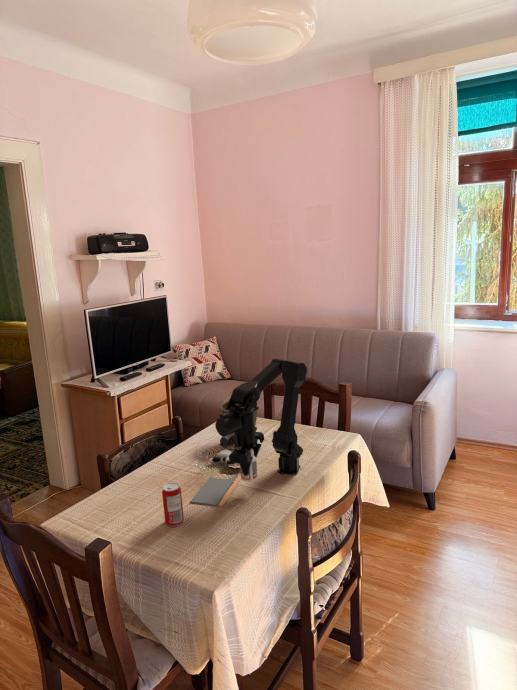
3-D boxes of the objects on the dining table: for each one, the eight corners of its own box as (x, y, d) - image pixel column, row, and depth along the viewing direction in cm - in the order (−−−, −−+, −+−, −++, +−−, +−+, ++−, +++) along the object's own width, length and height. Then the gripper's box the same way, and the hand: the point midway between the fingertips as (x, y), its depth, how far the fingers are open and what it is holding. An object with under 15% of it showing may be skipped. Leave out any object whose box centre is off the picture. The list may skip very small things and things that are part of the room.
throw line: (243, 476, 172) (243, 475, 172) (222, 506, 153) (222, 505, 153) (239, 476, 172) (239, 474, 172) (219, 506, 154) (218, 504, 154)
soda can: (173, 515, 150) (169, 479, 148) (187, 519, 147) (184, 483, 145) (161, 524, 146) (157, 487, 143) (175, 529, 143) (172, 491, 140)
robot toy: (207, 467, 182) (238, 475, 173) (205, 456, 182) (236, 463, 172) (228, 455, 192) (259, 461, 183) (227, 444, 191) (257, 450, 182)
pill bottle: (253, 473, 163) (251, 445, 161) (260, 479, 159) (258, 451, 156) (238, 477, 161) (236, 449, 159) (245, 484, 156) (243, 455, 154)
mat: (237, 476, 173) (237, 474, 173) (216, 506, 154) (216, 504, 154) (213, 473, 175) (213, 472, 175) (190, 502, 157) (190, 501, 157)
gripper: (232, 414, 167) (235, 456, 170) (211, 435, 150) (214, 482, 153) (263, 416, 164) (265, 459, 167) (245, 438, 146) (248, 486, 150)
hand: (248, 471), depth 159 cm, fingers closed on pill bottle, 5 cm apart
